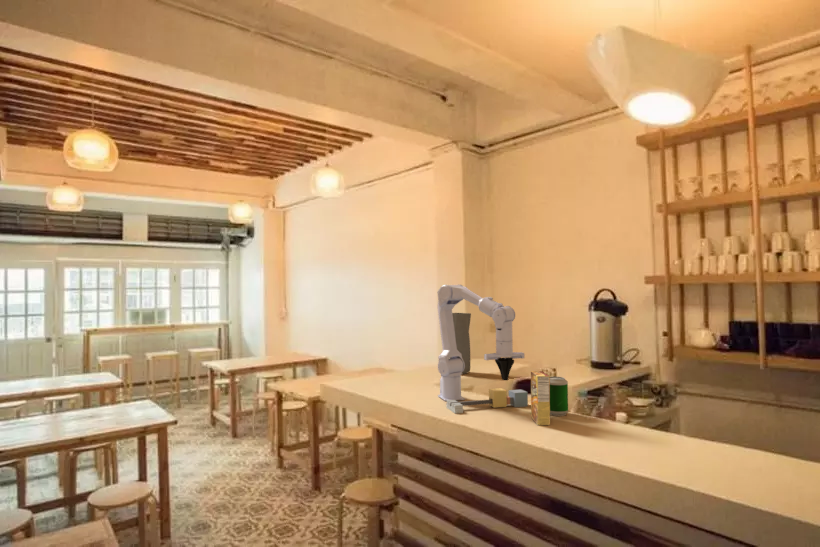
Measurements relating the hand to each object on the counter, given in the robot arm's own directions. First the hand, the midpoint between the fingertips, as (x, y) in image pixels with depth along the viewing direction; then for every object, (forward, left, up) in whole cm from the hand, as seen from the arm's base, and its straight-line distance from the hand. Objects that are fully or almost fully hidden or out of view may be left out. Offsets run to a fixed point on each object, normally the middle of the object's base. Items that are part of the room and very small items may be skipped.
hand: (504, 379), depth 170 cm
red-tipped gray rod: (-5, -7, -10) cm, 13 cm away
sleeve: (-5, -1, -10) cm, 12 cm away
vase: (-75, +11, -11) cm, 77 cm away
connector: (-5, +7, -10) cm, 14 cm away
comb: (-5, -17, -10) cm, 21 cm away
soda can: (+10, +14, -11) cm, 20 cm away
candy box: (+17, +4, -11) cm, 20 cm away
